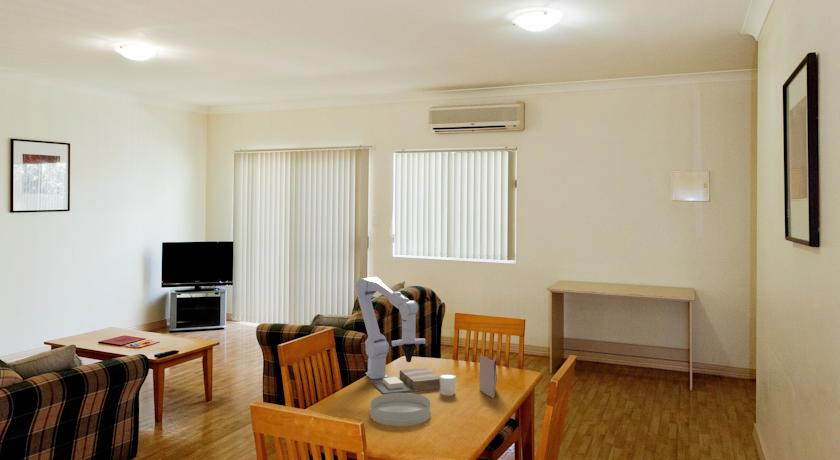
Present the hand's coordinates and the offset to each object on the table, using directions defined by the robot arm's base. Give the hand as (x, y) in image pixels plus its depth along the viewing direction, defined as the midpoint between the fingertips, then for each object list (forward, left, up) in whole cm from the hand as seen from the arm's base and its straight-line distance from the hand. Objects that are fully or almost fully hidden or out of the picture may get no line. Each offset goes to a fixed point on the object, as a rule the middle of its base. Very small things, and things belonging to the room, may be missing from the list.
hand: (408, 361), depth 257 cm
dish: (+33, -15, -10) cm, 38 cm away
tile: (0, -7, -8) cm, 11 cm away
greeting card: (+22, +26, -10) cm, 36 cm away
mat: (0, -8, -10) cm, 12 cm away
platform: (0, +5, -10) cm, 11 cm away
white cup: (+16, +11, -10) cm, 22 cm away
